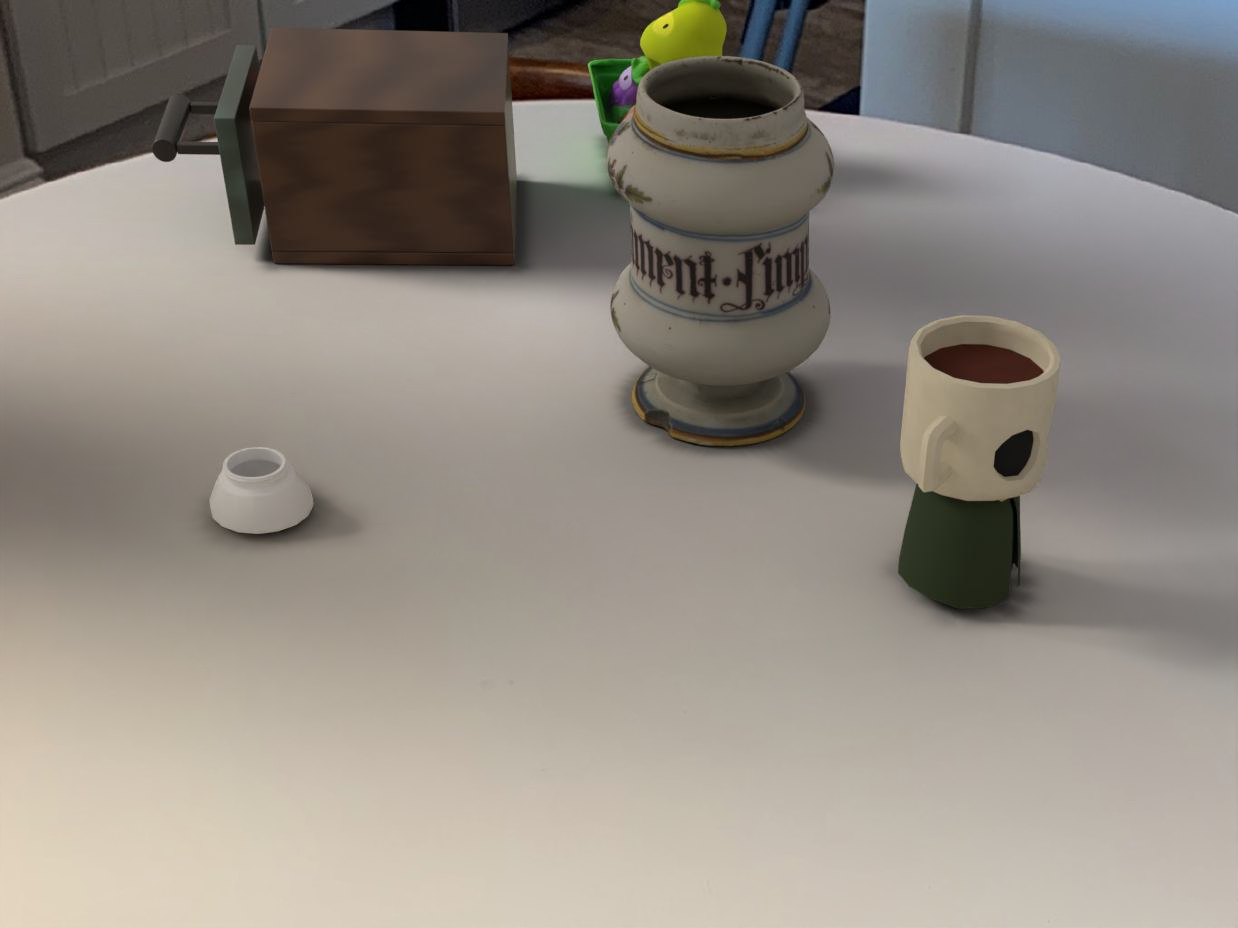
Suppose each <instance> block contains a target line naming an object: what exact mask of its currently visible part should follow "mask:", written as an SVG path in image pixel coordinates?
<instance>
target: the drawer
mask: <svg viewBox="0 0 1238 928" xmlns="http://www.w3.org/2000/svg"><path fill="white" fill-rule="evenodd" d="M260 68H261V67H260V63H259V55H258V49H257V45H254V44H236V46H235V49H234V53H233V56H232V59H231V62H230V65H229V69H228V72H227V74H226V78H225V80H224V81H225V82H224V85H223V87H222V91H221V95H220V97H219V101H191V99H190V98H189V97H188V96H186V95H185V94H183V93H173V94H172V95H170V97H169V98H168V101H167V104H166V107H165V109H164V112H163V116H162V118H161V121H160V122H159V123H160V124H159V126H158V129H157V131H156V135H155V137H154V140H153V143H152V146H151V151H152V155H153V157H155V158H156V159H157V160H159V162H163V163H170V162H172V161H174V160H175V159H176V157H177V155H199V156H201V155H203V156H204V155H205V156H219V158H220V164H221V168H222V169H221V170H222V175H223V182H224V188H225V192H226V199H227V205H228V211H229V217H230V223H231V228H232V235H233V240H234V241H233V242H234V245H236V246H237V245H238V246H241V245H242V246H255V245H256V242H257V238H258V234H259V230H260V226H261V222H262V217H263V214H264V211H265V206H264V199H263V193H262V187H261V180H260V174H259V167H258V161H257V155H256V148H255V142H254V135H253V129H252V123H251V122H252V121H251V117H250V110H249V107H250V104H251V100H252V97H253V93H254V90H255V86H256V82H257V79H258V75H259V72H260ZM191 115H214V116H213V123H214V128H215V134H216V140H217V141H190V140H189V141H188V140H187V141H186V140H185V141H184V140H183V137H184V134H185V131H186V128H187V125H188V122H189V119H190V116H191ZM182 140H183V141H182Z"/></svg>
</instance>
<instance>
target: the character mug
mask: <svg viewBox="0 0 1238 928" xmlns="http://www.w3.org/2000/svg"><path fill="white" fill-rule="evenodd" d="M907 355H908V356H907V365H906V376H905V378H906V379H905V387H904V398H903V409H902V419H901V432H900V442H899V450H900V458H901V463H902V466H903V471H904V472H905V474H907V476H909V477H910V478H911V479H912V480H913V482H915V483H916V485H915V488H914V492H913V496H912V499H911V503H910V507H909V510H908V514H907V519H906V523H905V527H904V531H903V536H902V541H901V545H900V552H899V556H898V565H897V566H898V568H897V574H898V575H899V576H900V578H902V580H903V581H904V582H905V583H906V584H907V585H908V587H910V588H911V589H913V590H915V591H916V592H919V593H921V594H922V595H924V596H926V597H927V598H929V599H931V600H934V601H936V602H939V603H942V604H945V605H947V606H950V607H953V608H955V609H985V608H989V607H992V606H994V605H996V604H1000V603H1002V602H1006V601H1008V599H1009V597H1010V593H1011V579H1012V570H1013V567H1014V566H1015V568H1016V569H1017V572H1016V573H1017V574H1016V575H1017V577H1016V588H1018V587H1020V586H1021V564H1022V561H1021V560H1022V540H1021V539H1022V537H1021V535H1022V534H1021V496H1022V495H1026V494H1028V493H1030V492H1032V491H1034V489H1036V488H1037V486H1038V485H1039V483H1040V481H1041V479H1042V477H1043V474H1044V473H1045V468H1046V465H1047V462H1048V458H1049V454H1048V448H1047V447H1048V440H1049V439H1048V438H1049V433H1050V429H1051V425H1052V420H1053V416H1054V412H1055V407H1056V403H1057V399H1058V383H1059V377H1060V371H1061V362H1062V361H1061V360H1062V357H1061V355H1060V352H1059V350H1058V348H1057V346H1056V344H1055V343H1054V342H1052V341H1051V340H1050V338H1048V337H1047V336H1045V334H1043V333H1042V332H1041V331H1039V330H1037V329H1034V328H1032V327H1031V326H1028V325H1025V324H1024V323H1021V322H1020V321H1017V320H1013V319H1007V318H1002V317H996V316H992V315H962V314H961V315H956V316H951V317H950V316H949V317H945V318H940V319H936V320H934V321H931V322H930V323H927V324H926V325H924V326H921V327H920V328H918V329H917V330H916V332H915V334H914V335H913V337H912V339H911V340H910V341H909V348H908V354H907Z"/></svg>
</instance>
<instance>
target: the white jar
mask: <svg viewBox="0 0 1238 928" xmlns="http://www.w3.org/2000/svg"><path fill="white" fill-rule="evenodd" d="M209 497H210V498H209V500H208V502H209V508H210V512H211V517H212V519H213V520H214V521H215V522H217V524H219V525H220V526H221V527H223V528H225V529H227V530H231V531H233V532H236V533H240V534H241V533H242V534H255V535H259V534H268V533H277V532H280V531H284V530H286V529H289V528H291V527H294V526H296V525H298V524H299V523H301V522H302V521H303V520H305V519H306V518H307V517H309V516H310V513H311V511H312V509H313V507H314V506H315V504H314V498H313V494H312V490H311V487H310V486H309V485H308V484H307V483H306V482H305V480H304V478H303V477H301V475H300V473H299V472H298V471H297V470H296V468H295V467H293V466H292V465H291V464H290V463H289V462H288V461H287V459H286V457H285V455H284V454H283V453H281V452H280V451H279V450H277V449H274V448H271V447H266V446H265V447H264V446H254V447H253V446H252V447H251V446H250V447H246V448H242V449H238V450H236V451H234V452H232V453H230V454H229V455H228V456H226V458H225V459H224V460H223V463H222V469H221V471H220V473H219V475H218V476H217V479H216V481H215V484H214V487H213V489H212V492H211V495H210V496H209Z"/></svg>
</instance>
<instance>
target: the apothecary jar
mask: <svg viewBox="0 0 1238 928" xmlns="http://www.w3.org/2000/svg"><path fill="white" fill-rule="evenodd" d="M834 159H835V158H834V154H833V150H832V148H831V145H830V142H829V141H828V139H827V137H826V135H825V134H824V132H822V130H821V129H820V128H819V127H818V126H817V125H816V123H814V122H813V121H812V120H811V119H810V118H809V117H808V116H807V113H806V110H805V93H804V88H803V86H802V84H801V83H800V81H799V80H798V79H797V78H796V77H795V76H794V75H793V74H792V73H791V72H790V71H787V70H785V69H784V68H782V67H779V66H777V65H774V64H772V63H770V62H766V61H762V60H759V59H754V58H749V57H748V58H747V57H741V56H733V55H731V56H730V55H729V56H728V55H722V56H702V57H692V58H685V59H679V60H675V61H671V62H668V63H664V64H661V65H659V66H657V67H655V68H653V69H652V70H650V71H649V72H648V73H647V74H645V76H644V77H643V78H642V79H641V81H640V83H639V86H638V90H637V97H636V104H635V107H634V110H633V112H632V113H631V114H630V115H629V116H627V117H626V118H625V119H624V120H623V121H622V122H621V124H620V125H619V126H618V127H617V129H616V130H615V132H614V133H613V135H612V137H611V139H610V142H609V144H608V145H607V150H606V170H607V173H608V177H609V179H610V181H611V184H612V185H613V187H614V188H615V190H616V192H617V193H618V195H620V196H621V198H622V199H623V200H624V201H625V202H627V204H629V213H630V214H629V215H630V254H631V257H630V260H631V261H630V263H629V264H628V265H627V266H625V268H624V269H623V271H622V272H621V274H620V275H619V277H618V278H617V280H616V282H615V284H614V286H613V288H612V292H611V296H610V301H609V302H610V303H609V307H610V308H609V310H610V317H611V322H612V325H613V327H614V331H615V332H616V334H617V336H618V338H619V340H620V341H621V342H622V343H623V345H624V346H625V347H626V348H627V349H628V351H630V352H631V353H632V354H633V355H634V356H635V357H636V358H637V359H639V360H640V361H641V362H642V363H644V364H645V365H646V366H648V368H646V369H645V370H644V371H642V372H641V374H640V375H639V376H638V377H637V379H636V380H635V381H634V384H633V387H632V391H631V403H632V406H633V408H634V410H635V412H636V414H637V415H638V416H639V418H640V419H641V420H642V421H643V422H645V423H647V424H649V425H653V426H657V427H662V428H663V429H665V430H666V431H667V433H668V436H669V437H671V438H673V439H676V440H679V441H682V442H685V443H691V444H695V445H700V446H707V447H734V446H735V447H736V446H737V447H739V446H746V445H747V446H748V445H754V444H759V443H763V442H766V441H769V440H772V439H774V438H778V437H779V436H781V435H783V434H785V433H786V432H788V431H790V430H791V429H792V428H793V427H795V425H797V423H799V421H800V420H801V418H802V417H803V415H804V412H805V409H806V397H805V396H806V395H805V392H804V389H803V387H802V386H801V384H800V383H799V381H798V380H797V379H796V378H795V377H794V376H793V375H791V373H789V372H790V371H791V370H794V369H795V368H797V367H798V366H800V365H802V364H804V362H805V361H807V360H808V359H809V358H810V357H812V355H813V354H814V353H815V352H817V350H818V349H819V347H820V346H821V345H822V343H823V341H824V340H825V338H826V336H827V333H828V332H829V328H830V325H831V317H832V316H831V315H832V314H831V304H830V300H829V296H828V292H827V291H826V288H825V287H824V285H823V283H822V281H821V280H820V279H819V277H818V276H817V274H816V273H815V272H814V271H813V270H812V268H811V267H810V254H809V253H810V211H812V210H813V209H815V208H816V207H817V206H818V205H819V204H820V203H821V202H822V201H823V199H824V198H825V197H826V195H827V193H828V192H829V190H830V188H831V185H832V182H833V178H834V174H835V173H834V172H835V160H834Z"/></svg>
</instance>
